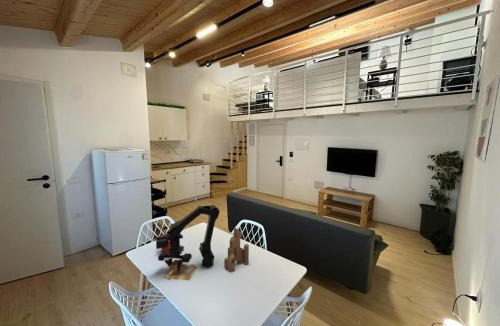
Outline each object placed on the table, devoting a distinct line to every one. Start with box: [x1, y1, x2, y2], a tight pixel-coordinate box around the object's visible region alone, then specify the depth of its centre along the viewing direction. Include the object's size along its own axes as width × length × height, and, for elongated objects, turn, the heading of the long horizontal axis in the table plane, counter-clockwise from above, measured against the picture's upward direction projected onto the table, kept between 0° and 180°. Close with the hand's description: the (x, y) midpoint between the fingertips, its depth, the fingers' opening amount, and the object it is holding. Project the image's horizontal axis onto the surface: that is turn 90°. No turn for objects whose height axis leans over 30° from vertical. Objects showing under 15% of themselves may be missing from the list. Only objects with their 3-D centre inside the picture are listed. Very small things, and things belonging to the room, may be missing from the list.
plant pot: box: [161, 233, 170, 255], centre depth 158 cm, size 13×13×12 cm
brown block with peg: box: [168, 259, 181, 278], centre depth 131 cm, size 4×11×6 cm, turn 174°
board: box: [162, 262, 198, 281], centre depth 133 cm, size 16×14×4 cm
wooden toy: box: [223, 227, 250, 273], centre depth 141 cm, size 16×7×25 cm, turn 131°
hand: (175, 270), depth 133 cm, fingers closed on brown block with peg, 4 cm apart
